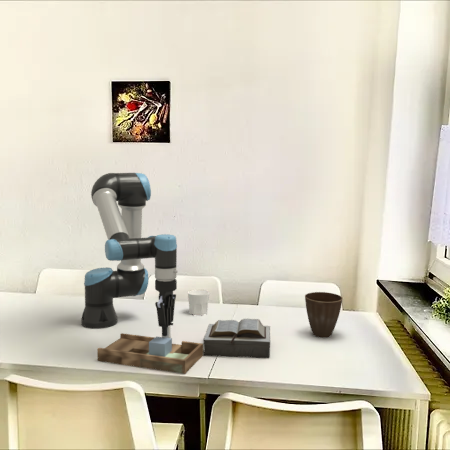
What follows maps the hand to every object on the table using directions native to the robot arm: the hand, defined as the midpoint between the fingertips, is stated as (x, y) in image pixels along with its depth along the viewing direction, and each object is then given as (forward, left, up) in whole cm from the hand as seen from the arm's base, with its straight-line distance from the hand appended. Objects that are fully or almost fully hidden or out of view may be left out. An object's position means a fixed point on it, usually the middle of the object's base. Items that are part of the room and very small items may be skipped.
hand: (166, 343), depth 182 cm
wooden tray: (-5, -3, -5) cm, 7 cm away
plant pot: (+50, +43, -5) cm, 66 cm away
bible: (+21, +18, -6) cm, 28 cm away
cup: (-8, +54, -5) cm, 55 cm away
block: (-1, -4, -2) cm, 4 cm away
